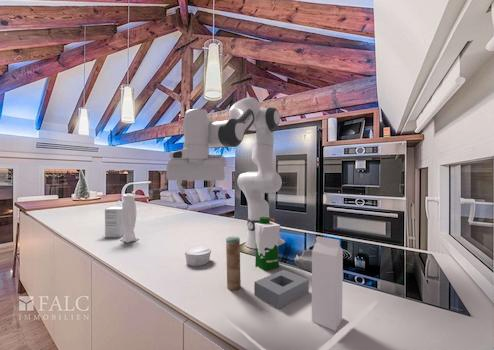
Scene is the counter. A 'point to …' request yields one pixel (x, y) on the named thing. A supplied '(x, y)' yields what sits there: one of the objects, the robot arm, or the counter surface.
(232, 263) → the peg
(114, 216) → the supplement box
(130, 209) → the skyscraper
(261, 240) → the milk carton
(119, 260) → the counter surface
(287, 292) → the socket block
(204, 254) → the ramekin
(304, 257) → the dish
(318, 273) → the milk
